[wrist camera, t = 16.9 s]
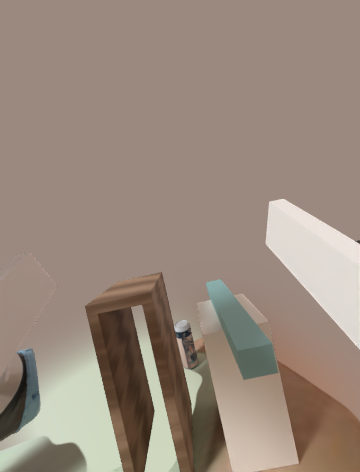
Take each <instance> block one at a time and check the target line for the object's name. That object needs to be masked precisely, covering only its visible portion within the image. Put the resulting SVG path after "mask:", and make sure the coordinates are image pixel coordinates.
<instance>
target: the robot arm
mask: <svg viewBox="0 0 360 472" xmlns="http://www.w3.org/2000/svg"><path fill="white" fill-rule="evenodd" d="M266 245H267V246H268V247H269V248H270V249H271V250H272V251H273V253H274V254H275V255H276V256H277V257H278V258H279V259H280V260H281V261H282V263H283V264H284V265H285V266H286V267H287V268H288V269H289V270H290V272H291V273H292V274H293V275H294V276H295V277H296V278H297V279H298V281H299V282H300V283H301V284H302V285H303V286H304V287H305V289H306V290H307V291H308V292H309V293H310V294H311V295H312V296H313V297H314V298H315V300H316V301H317V302H318V303H319V304H320V305H321V306H322V308H323V309H324V310H325V311H326V312H327V313H328V314H329V315H330V317H331V318H332V319H333V320H334V321H335V322H336V323H337V324H338V326H339V327H340V328H341V329H342V330H343V331H344V332H345V333H346V335H347V336H348V337H349V338H350V339H351V340H352V341H353V342H354V344H355V345H356V346H357V347H358V348H359V349H360V241H354V240H352V239H350V238H348V237H347V236H345V235H344V234H342V233H340V232H339V231H337V230H335V229H334V228H332V227H330V226H328V225H327V224H325V223H323V222H322V221H320V220H318V219H317V218H315V217H313V216H312V215H310V214H308V213H306V212H305V211H303V210H302V209H300V208H298V207H297V206H295V205H293V204H291V203H290V202H288V201H286V200H285V199H281V200H276V201H271V202H269V212H268V223H267V235H266ZM57 287H58V286H57V285H56V284H55V282H54V281H53V280H52V279H51V277H50V276H49V275H48V274H47V272H46V271H45V270H44V269H43V267H42V266H41V265H40V264H39V262H38V261H37V260H36V259H35V258H34V256H33V255H32V254H31V252H29V253H24V254H19V255H16V256H15V257H14V258H13V259H12V260H10V262H8V263H7V264H6V265H5V266H4V267H3V268H2V269H1V270H0V441H2V440H4V439H5V438H7V437H8V436H10V435H11V434H14V433H17V432H18V431H19V430H20V429H21V428H22V427H23V426H25V425H26V424H28V423H29V422H30V421H32V420H33V419H34V418H35V417H36V416H37V414H38V413H39V411H40V395H39V386H38V376H37V369H36V362H35V355H34V352H33V349H26V350H20V351H18V352H17V353H16V351H17V350H18V349H19V347H20V345H21V344H22V342H23V341H24V339H25V338H26V336H27V334H28V333H29V331H30V329H31V328H32V327H33V325H34V323H35V322H36V320H37V319H38V317H39V316H40V314H41V312H42V311H43V309H44V308H45V306H46V304H47V303H48V301H49V300H50V298H51V297H52V295H53V293H54V292H55V290H56V289H57Z"/></svg>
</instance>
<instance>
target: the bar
mask: <svg viewBox="0 0 360 472" xmlns="http://www.w3.org/2000/svg"><path fill="white" fill-rule="evenodd" d="M206 286H207V290H208V295H209V297H210V300H211V302H212V305H213V307H214V309H215V312H216V314H217V317H218V319H219V321H220V324H221V326H222V329H223V331H224V334H225V336H226V338H227V341H228V343H229V346H230V348H231V351H232V353H233V355H234V358H235V360H236V363H237V365H238V368H239V370H240V372H241V375H242V377H243V380H246V379H251V378H256V377H261V376H266V375H271V374H276V373H278V368H277V363H276V359H275V354H274V349H273V345H272V343H271V341H270V340H269V339H268V338H267V336H266V335H265V334H264V333H263V331H262V330H261V329H260V328H259V326H258V325H257V324H256V323H255V321H254V320H253V319H252V318H251V316H250V315H249V314H248V313H247V312H246V310H245V309H244V308H243V307H242V305H241V304H240V303H239V302H238V300H237V299H236V298H235V297H234V295H233V294H232V293H231V292H230V290H229V289H228V288H227V287H226V285H225V284H224V283H223V282H222V280H221V279H219V280H215V281H210V282H206Z"/></svg>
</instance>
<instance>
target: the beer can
mask: <svg viewBox="0 0 360 472" xmlns="http://www.w3.org/2000/svg"><path fill="white" fill-rule="evenodd" d="M174 329H175V333H176V338H177V342H178V346H179V351H180V355H181V360H182V364H183V367H184V368H185V369H192V368H194V367H195V366H196V365H197V364H198V359H197V355H196V350H195V346H194V341H193V337H192V332H191V328H190V324H189V323H188V321H186V320H181V321H179V322H177V323H176V324H175V327H174Z"/></svg>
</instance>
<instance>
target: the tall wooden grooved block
mask: <svg viewBox="0 0 360 472" xmlns="http://www.w3.org/2000/svg"><path fill="white" fill-rule="evenodd" d="M137 305H142V306H143V310H144V314H145V319H146V323H147V328H148V332H149V336H150V341H151V345H152V350H153V354H154V358H155V363H156V367H157V372H158V376H159V380H160V385H161V389H162V394H163V398H164V402H165V407H166V411H167V416H168V420H169V424H170V429H171V433H172V438H173V442H174V446H175V451H176V455H177V460H178V464H179V468H180V472H194V459H193V433H192V408H191V400H190V396H189V391H188V387H187V382H186V378H185V373H184V369H183V364H182V360H181V355H180V351H179V346H178V342H177V338H176V333H175V329H174V325H173V320H172V316H171V311H170V306H169V302H168V297H167V293H166V289H165V284H164V280H163V276H162V272H161V273H156V274H151V275H147V276H142V277H138V278H133V279H128V280H123V281H119V282H117V283H115V284H114V285H113V286H111V287H110V288H109V289H107V290H106V291H105V292H103V293H102V294H101V295H99V296H98V297H97V298H96V299H94V300H93V301H91V302H90V303H89V304H88V305H86V306H85V308H86V313H87V317H88V321H89V325H90V329H91V334H92V338H93V343H94V346H95V351H96V356H97V360H98V364H99V368H100V372H101V377H102V381H103V385H104V390H105V394H106V398H107V403H108V407H109V411H110V416H111V420H112V424H113V428H114V433H115V436H116V441H117V445H118V450H119V454H120V458H121V462H122V467H123V471H124V472H144V471H145V465H146V459H147V453H148V447H149V440H150V435H151V429H152V423H153V417H154V406H153V402H152V397H151V393H150V389H149V384H148V380H147V376H146V371H145V367H144V363H143V358H142V354H141V349H140V345H139V340H138V336H137V332H136V328H135V323H134V319H133V314H132V310H131V307H132V306H137Z"/></svg>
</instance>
